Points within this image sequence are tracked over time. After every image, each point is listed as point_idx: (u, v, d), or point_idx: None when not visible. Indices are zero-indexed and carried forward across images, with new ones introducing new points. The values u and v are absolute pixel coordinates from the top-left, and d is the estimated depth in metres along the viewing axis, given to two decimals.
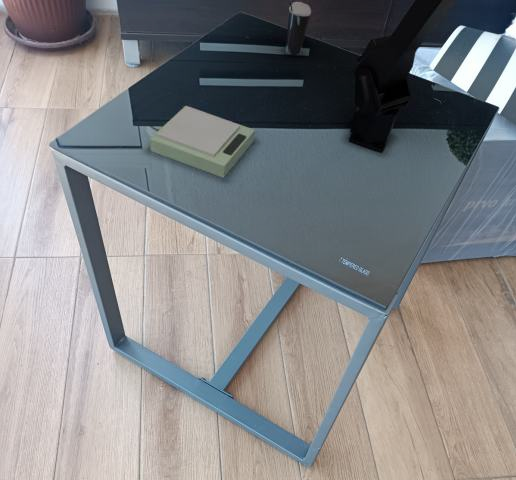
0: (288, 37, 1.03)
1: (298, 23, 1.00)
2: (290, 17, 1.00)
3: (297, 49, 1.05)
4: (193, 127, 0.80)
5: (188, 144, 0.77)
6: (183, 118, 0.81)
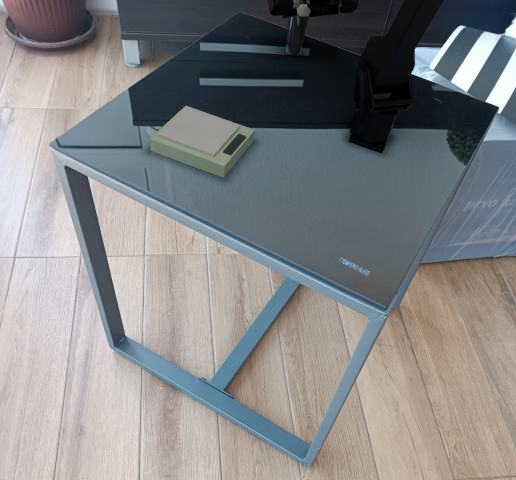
0: (288, 37, 1.03)
1: (298, 23, 1.00)
2: (290, 17, 1.00)
3: (297, 49, 1.05)
4: (193, 127, 0.80)
5: (188, 144, 0.77)
6: (183, 118, 0.81)
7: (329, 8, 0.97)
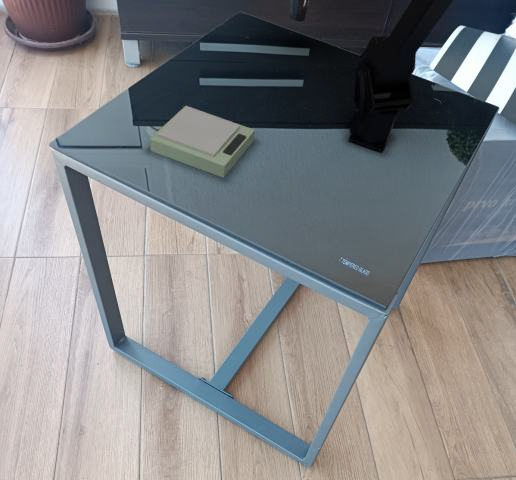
0: (292, 1, 0.98)
1: None
2: None
3: (302, 14, 0.99)
4: (193, 127, 0.80)
5: (188, 144, 0.77)
6: (183, 118, 0.81)
7: None
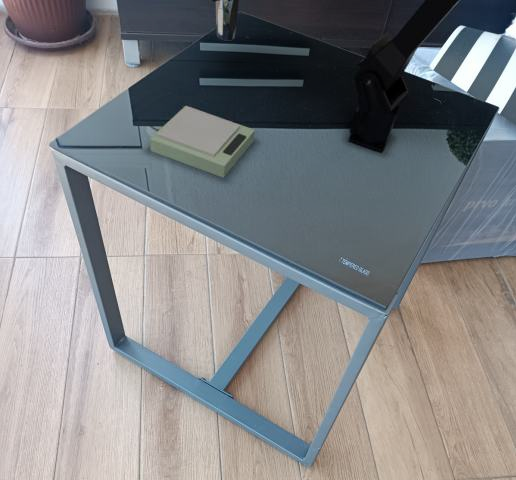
0: (221, 22, 0.88)
1: (233, 2, 0.86)
2: None
3: (233, 32, 0.90)
4: (193, 127, 0.80)
5: (188, 144, 0.77)
6: (183, 118, 0.81)
7: None
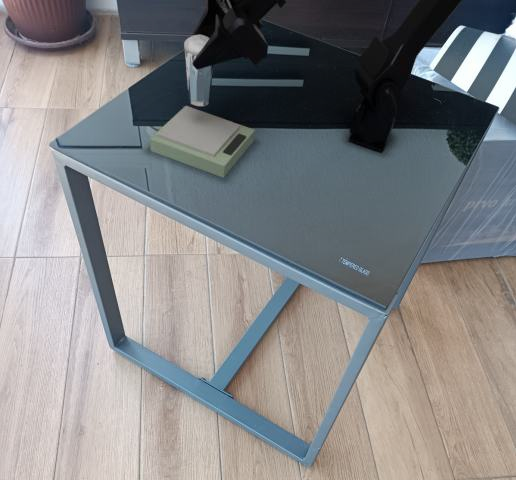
0: (202, 87, 0.74)
1: None
2: None
3: None
4: (193, 127, 0.80)
5: (188, 144, 0.77)
6: (183, 118, 0.81)
7: None
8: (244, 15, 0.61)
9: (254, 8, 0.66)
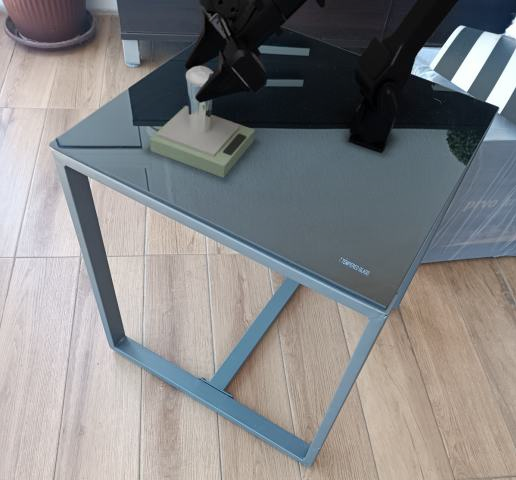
0: (203, 115, 0.77)
1: None
2: None
3: None
4: None
5: (188, 144, 0.77)
6: (183, 118, 0.81)
7: (226, 40, 0.76)
8: (245, 47, 0.64)
9: (253, 37, 0.68)
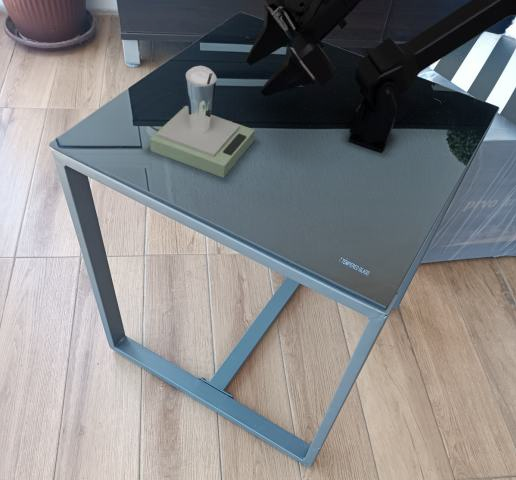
0: (203, 115, 0.77)
1: (214, 91, 0.75)
2: (205, 92, 0.73)
3: None
4: None
5: (188, 144, 0.77)
6: (183, 118, 0.81)
7: (286, 33, 0.77)
8: (313, 40, 0.66)
9: (318, 31, 0.70)
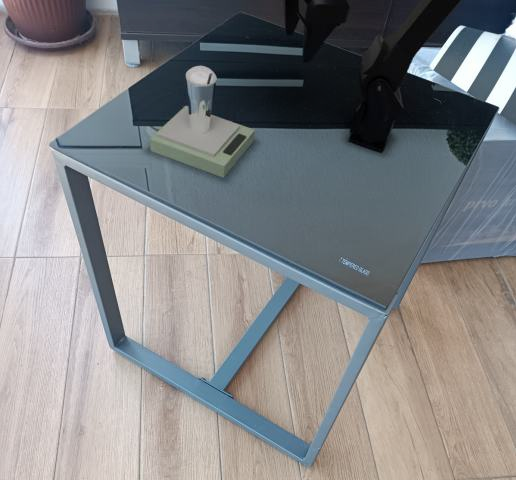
0: (203, 115, 0.77)
1: (214, 91, 0.75)
2: (205, 92, 0.73)
3: None
4: None
5: (188, 144, 0.77)
6: (183, 118, 0.81)
7: None
8: None
9: None
